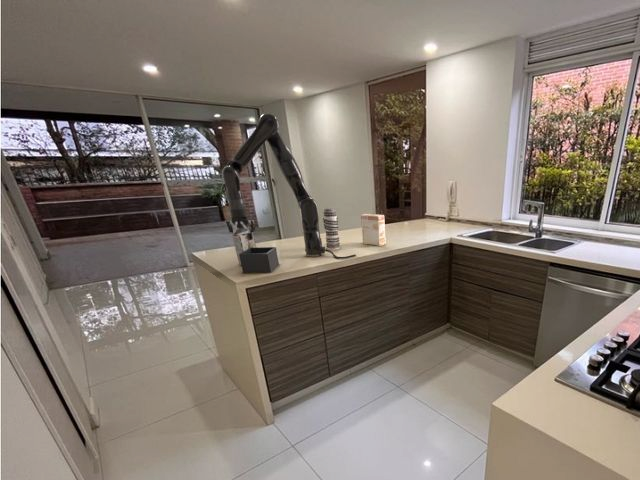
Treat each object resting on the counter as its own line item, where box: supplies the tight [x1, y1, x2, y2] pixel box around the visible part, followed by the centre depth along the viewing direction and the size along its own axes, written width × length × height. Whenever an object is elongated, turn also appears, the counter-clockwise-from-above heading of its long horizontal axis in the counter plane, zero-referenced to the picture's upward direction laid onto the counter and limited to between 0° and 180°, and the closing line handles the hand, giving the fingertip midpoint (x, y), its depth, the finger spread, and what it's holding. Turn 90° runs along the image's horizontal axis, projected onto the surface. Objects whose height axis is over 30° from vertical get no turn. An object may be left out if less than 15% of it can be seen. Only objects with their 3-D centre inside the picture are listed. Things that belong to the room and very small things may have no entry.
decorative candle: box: [322, 207, 341, 251], centre depth 214 cm, size 9×9×25 cm
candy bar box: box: [231, 230, 257, 266], centre depth 184 cm, size 11×5×16 cm, turn 168°
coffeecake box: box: [360, 213, 386, 247], centre depth 228 cm, size 15×7×20 cm, turn 58°
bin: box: [239, 246, 280, 274], centre depth 175 cm, size 14×15×10 cm
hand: (244, 239), depth 182 cm, fingers open, 6 cm apart
